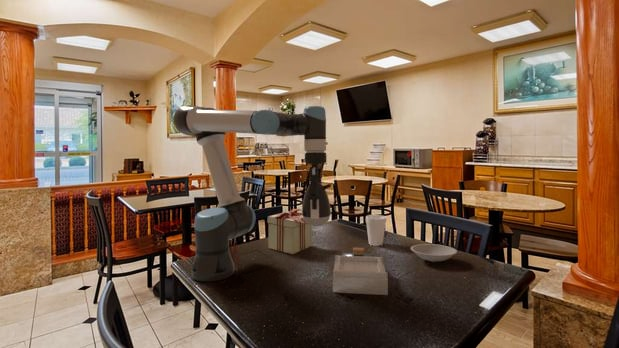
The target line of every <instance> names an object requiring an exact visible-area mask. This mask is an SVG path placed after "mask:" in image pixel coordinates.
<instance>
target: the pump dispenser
mask: <svg viewBox="0 0 619 348" xmlns="http://www.w3.org/2000/svg"><path fill="white" fill-rule="evenodd" d="M331 187H332V185H331V184H330V183H328V184H326V185H325V184H324V185H323V183H322V184H321V183H319V187H318V199H319V219H311V201H310V200H308V197H309V196H310V184H309V185H308V187H307V189H306V191H305V194H304V197H303V200H302V207H301V213H302V216H303V218H304V221H305V222H306V223H307V224H308V225H311V227H321V226H325V224H327V223H328V222H329V220H330V216H331V214H332V211H331V203H330V200H329V195H328V193H327V189H329V188H331Z"/></svg>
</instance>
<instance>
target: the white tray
mask: <svg viewBox="0 0 619 348" xmlns="http://www.w3.org/2000/svg"><path fill="white" fill-rule="evenodd" d="M388 276H389V275H388V272H386V268H385V265H384V257H383V256H376V254H375V253H365V248H364V247H352V252H342V253H341V255H339V254H338V255H336V254H335V255H334V265H333V270H332V293H341V294H356V295H358V294H360V295H361V294H363V295H378V296H380V295H382V296H388V294H389V282H388V281H389V279H388Z"/></svg>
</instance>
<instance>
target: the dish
mask: <svg viewBox="0 0 619 348" xmlns="http://www.w3.org/2000/svg"><path fill="white" fill-rule="evenodd" d="M410 250H411V251H412V252H413V253H414V255H416V256H417V257H419V258H421V259H422V260H424V261H429V262H432V263H436V262H443V261H447V260H449V259H450V258H452V257H453V256H454V255H456V254H457V253H458V250H457V249H456V248H454V247H451V246H449V245H448V246H447V245H444V244H433V243H421V244H419V243H418V244H416V245H412V246H410Z"/></svg>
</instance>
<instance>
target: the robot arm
mask: <svg viewBox="0 0 619 348" xmlns="http://www.w3.org/2000/svg"><path fill="white" fill-rule="evenodd" d="M326 116H327V115H326V108H324V106H320V105H310V106H305V107H303V113H293V114H291V113H290V114H289V113H285V112H284V113H283V112H277V111H273V110H270V109H259V110H244V109H243V110H240V109H239V110H237V109H236V110H235V109H233V110H232V109H229V110H228V109H224V110H223V109H215V108H213V107H204V106H198V105H191V104H189V105H182V106H180V107H179V108H177V109H176V111H175V112H174V115H173V117H172V118H173V119H172V120H173V125H174V127H175V129H176V130H177V131H178V132H179V133H181V134H182V135H184V136H189V137H190V136H191V137H195V139H196V142H197V144H198V145H199V146H201V147H202V149H203V152H204V156H205V159H206V164H207V166H208V170H209V173H210V177H211V180H212V183H213V187H214V190H215V193H216V197H217V200H218V204H217V206H216V207H212V208H206V209H203V210H201V211H199V212H197V214H196V215H195V217H194V224H193V226H194V237H195V241H194V242H195V256H194V260H193V263H192V267H191V278H192V279H193V280H195V281H198V282H204V283H205V282H206V283H207V282H218V281H221V280H225V279H227V278H230V277H231V276H232V275H233V274H234V273H235V263H234V261H233V258H232V255H231V253H230V240H233V239H235V238H237V237H241V236H244V235H246V234H247V233H249V232H250V231H252V229H253V228H254V226H255V224H256V219H257V218H256V213H255V210H254V209H253V207H251V206H250V205H248V204H247V202H246V199H245V198H243V197H242V196H241V194H240V192H239V189H238V188H239V187H238V185H237V181H236V178H235V176H234V172H233V171H234V170H233V168H232V166H231V165H232V164H231V162H230V159H229V155H228V151H227V148H226V145H225V139H226V137H227V136H226V133H233V134H234V133H236V134H254V135H255V134H256V135H264V136H265V135H266V136H267V135H268V136H270V135H271V136H273V135H274V136H277V137H291V136H292V137H295V136H304V138H303V139H304V143H303V144H304V147H303V150H304V151H305V153H304V163H305V164H308V165H309V164H311V168H309V185H310V196H309V197H308V200H310V201H311V219H319V199H318V187H319V183H321V184H322V185H323V183H322V173H323V168H322V166H321V164H326V163H327V153H326V151H327V146H328V145H329V142H328V141H327V117H326Z"/></svg>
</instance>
